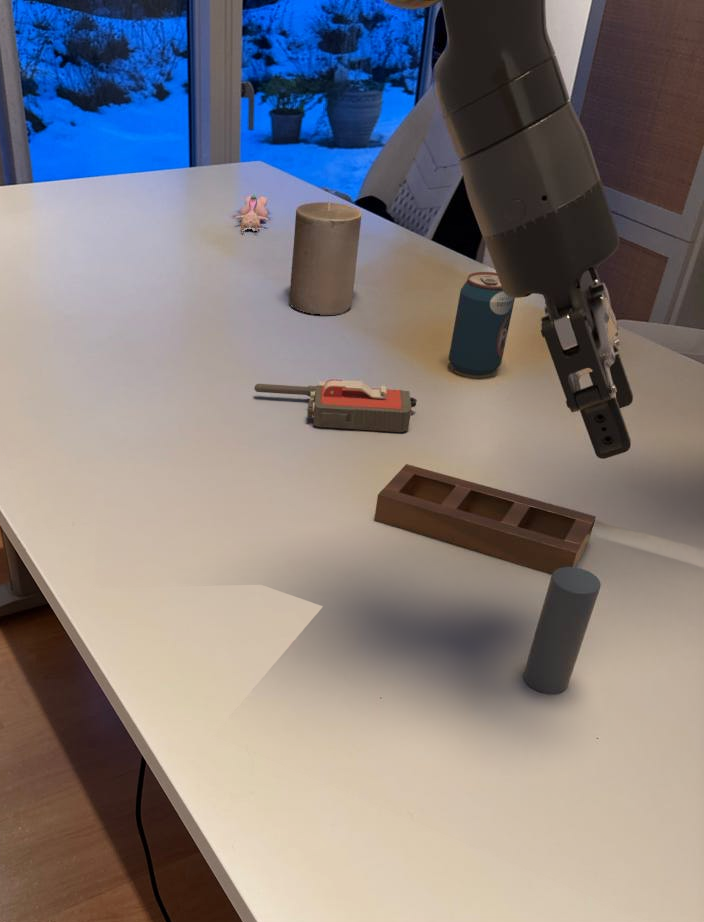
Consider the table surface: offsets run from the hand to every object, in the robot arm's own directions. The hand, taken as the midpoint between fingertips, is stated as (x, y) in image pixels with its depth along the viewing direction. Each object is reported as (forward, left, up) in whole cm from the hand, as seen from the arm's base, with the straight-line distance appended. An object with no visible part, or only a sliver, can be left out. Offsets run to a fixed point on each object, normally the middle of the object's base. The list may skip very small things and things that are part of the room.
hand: (617, 428), depth 66 cm
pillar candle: (+53, -68, -22) cm, 89 cm away
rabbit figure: (+83, -101, -22) cm, 133 cm away
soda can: (+25, -57, -22) cm, 66 cm away
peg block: (+11, -18, -22) cm, 30 cm away
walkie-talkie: (+35, -34, -22) cm, 54 cm away
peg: (-1, +2, -22) cm, 22 cm away
